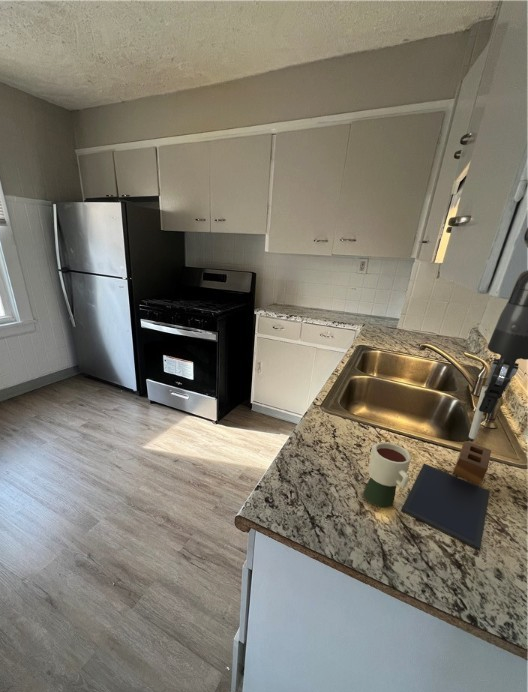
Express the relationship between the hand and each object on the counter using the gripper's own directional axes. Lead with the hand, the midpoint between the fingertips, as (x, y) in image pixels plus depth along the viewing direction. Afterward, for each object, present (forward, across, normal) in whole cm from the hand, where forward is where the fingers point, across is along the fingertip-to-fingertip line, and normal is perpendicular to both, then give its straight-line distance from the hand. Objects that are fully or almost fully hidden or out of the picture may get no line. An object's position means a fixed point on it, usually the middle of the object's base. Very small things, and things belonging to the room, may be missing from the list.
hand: (485, 409), depth 66 cm
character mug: (+21, -17, +12) cm, 29 cm away
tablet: (+21, -7, 0) cm, 22 cm away
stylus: (+8, 0, 0) cm, 8 cm away
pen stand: (+21, +10, -2) cm, 23 cm away
